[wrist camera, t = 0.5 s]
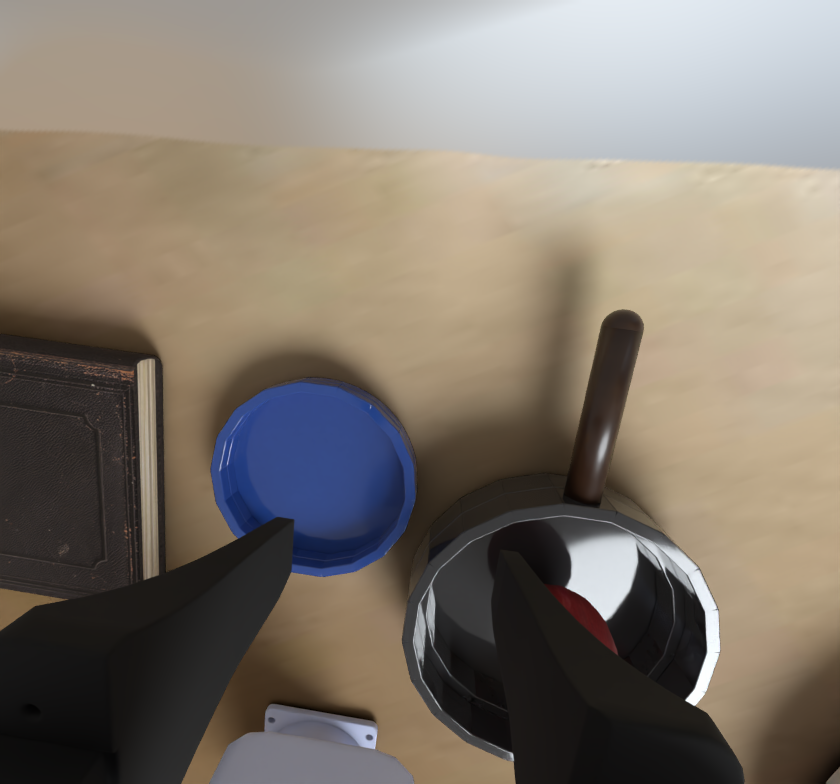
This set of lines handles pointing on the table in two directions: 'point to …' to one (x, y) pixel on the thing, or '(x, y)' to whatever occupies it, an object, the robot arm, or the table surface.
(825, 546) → the table surface
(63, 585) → the hardcover book
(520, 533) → the frying pan
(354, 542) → the saucer
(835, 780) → the pan
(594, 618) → the onion
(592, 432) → the pan handle
